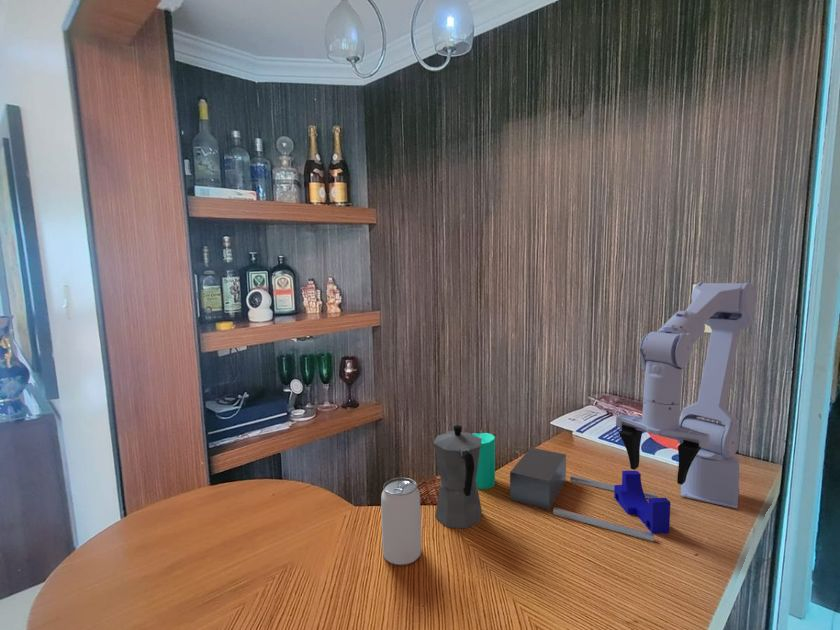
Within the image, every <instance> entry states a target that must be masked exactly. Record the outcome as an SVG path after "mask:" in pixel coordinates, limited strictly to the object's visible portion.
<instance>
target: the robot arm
mask: <svg viewBox="0 0 840 630" xmlns="http://www.w3.org/2000/svg"><path fill="white" fill-rule="evenodd" d="M690 297H691V302H690V304H689V306H688V307H687V308H686V310H678V311H677V312H676V313H674V314H673V315H672V316H671V317H670V318H669V319H668V320H667V321H666V322H665V323H664V324H663V325H662V326H661V327H660V328H659V329H658V330H657V331H651V332H649V333H646V334H645V335H643V337H642V338H641V341H640V345H639V348H638V354H639V358H640V360H641V370H642V373H644V384H643V398H642V399H643V400H642V416H634V415H628V414H627V415H626V414H622V413H620V414H618V415H616V416H615V417H616V418H615V419H616V420H615V426H616V427H618V428H621V429H620V430H619V432H618V433H619V434H618V435H619V436H620V439H621V440H622V443H623V445H624V447H625V449H626V452H627V453H626V454H627V455H628V459H629V466H630V469H631V470H632V471H636V469H638V468H639V466H640V454H641V453H640V447H641V443H642V442H641V441H642V436H643V433H648V434H651V435H654V436H660V437H664V438H668V439H671V440H675V441H677V443H679V445H677V451H678V452H677V453H678V470H677V478H676V481H677V484H679V485H680V496H681V497H682V498H687V499H692V500H696V501H699V502H704V503H710V504H715V505H720V506H721V507H722V506H723V507H728V508H732V509H738V508H739V505H738V504H739V502H738V501H739V495H740V461H739V458H738V456H737V457H736V456H734V455H735V454H736V452H737V450H738V447H739V442H740V435H739V432H740V431H739V430H740V423H739V421H738V419H737V418H736V417H735V416H734V415H733V414H732V413H731V412H729V410H728V409H727V408H726V405H727V401H728V400H727V399H728V394H729V391H730V385H731V379H732V375H733V369H734V364H735V360H736V354H737V348H738V343H739V340H740V337H741V334H742V330H743V329H747V328H749V327H751V326H752V323H753V320H754V316H755V311H756V306H757V290H756V288H755V286H754V285H753V283H751V282H739V283H738V282H704V281H699V282H697V284H696V285H695V286H694V287H693V289H692V292H691V296H690ZM706 326H708V327H709V328H710V330H711V332H710V337H709V342H708V347H707V353H706V357H705V362H704V367H703V372H702V377H701V381H700V386H699V392H698V396H697V401H696V402H695V403H692V404H690V405H688V406H685V407H683V408H682V409H681V404H682V402H681V400H682V384H683V372H684V371H683V369H684V368H685V367H686V366H687V365H688V363H689V362H690V358H691V354H692V352H693V350H694V345H695V344H696V342H697V341H698V340H699V338H700V337H701V336H702V335H704V333H705V330H706ZM701 418H703V419H701ZM705 419H706V420H705ZM707 419H708V420H707ZM710 420H712V421H710ZM713 421H716V422H713ZM718 422H720V423H718Z"/></svg>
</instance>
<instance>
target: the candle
mask: <svg viewBox="0 0 840 630" xmlns="http://www.w3.org/2000/svg"><path fill="white" fill-rule="evenodd" d="M482 431H483V430H480V433H476V432H475V433H474V432H472V434H473V435H475V436H477V437H479V438H481V439H482V441H481V447H480V454H479V462H478V469H477V476H476V483H477V487H478V490H480V489H481V490H486V489H491V488H493V487H494V486H495V484H496V436H495V435H493V434H492V433H490V432H489V433H488V432H482Z"/></svg>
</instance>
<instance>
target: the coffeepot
mask: <svg viewBox="0 0 840 630" xmlns="http://www.w3.org/2000/svg"><path fill="white" fill-rule="evenodd" d="M462 428H463V426H462V425H459V424H457V425H453V429H452V430H445V433H443V434H438V435H436V437H435V439H434V442H433V448H434V454H435V460H436V465H437V472H438V475H439V477H440V483H439V490H438V495H437V496H438V497H437V501H436V502H437V503H436V507H435V508H436V510H435V519H437V521H438V522H439V523H440V524H441V525H443V526H445V527H448V528H451V529H458V530H460V529H461V530H463V529H469V528H473V527H474V526H476V525H478V524H479V523H481V520H482V514H483V513H482V511H483V510H482V504H481V500H480V494H479V489H478V487H477V483H476V476H477V469H478V462H479V454H480V447H481V441H482V439H481V438H479V437H477V436H475V435H473V433H471V432H462Z"/></svg>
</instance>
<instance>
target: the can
mask: <svg viewBox="0 0 840 630" xmlns="http://www.w3.org/2000/svg"><path fill="white" fill-rule="evenodd" d="M380 498H381V499H380V503H381V504H380V506H381V507H380V508H381V511H380V512H381V535H382V536H381V538H382V539H381V540H382V554H383V557H384V559H385V560H386V561H387V562H388V563H390V564H391V565H395V566H408V565H410V564H412V563H414V562H416V561H417V560H418V558H420V556H421V554H422V521H421V519H422V518H421V493H420V490H419V489H418V483H417V482H416V481H415V480H414V479H412V478H407V477H395V478H391V479H389V480H387V481H385V483H384V484H383V490H382V492H381V497H380Z"/></svg>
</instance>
